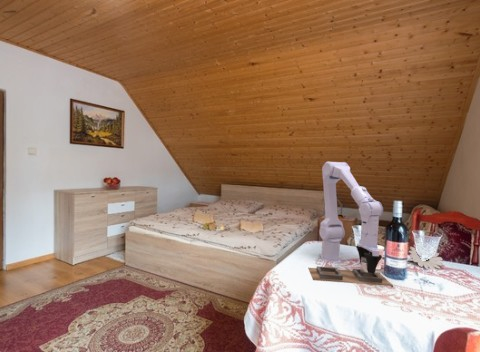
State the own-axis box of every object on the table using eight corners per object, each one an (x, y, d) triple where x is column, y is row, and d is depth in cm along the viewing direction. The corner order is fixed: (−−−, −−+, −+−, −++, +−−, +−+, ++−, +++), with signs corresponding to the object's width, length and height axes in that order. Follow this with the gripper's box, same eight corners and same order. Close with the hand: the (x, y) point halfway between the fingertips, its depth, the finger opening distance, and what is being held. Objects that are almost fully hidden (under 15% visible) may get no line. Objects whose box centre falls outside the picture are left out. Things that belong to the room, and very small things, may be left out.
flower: (365, 242, 133) (437, 242, 124) (365, 250, 135) (435, 250, 127) (370, 265, 122) (449, 267, 114) (369, 273, 125) (446, 275, 116)
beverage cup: (372, 263, 121) (374, 232, 120) (385, 268, 116) (388, 235, 115) (363, 266, 117) (365, 233, 117) (377, 271, 112) (379, 237, 112)
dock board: (307, 268, 112) (308, 264, 112) (379, 273, 110) (379, 268, 110) (313, 281, 100) (313, 276, 100) (393, 287, 98) (393, 281, 98)
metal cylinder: (358, 274, 106) (359, 255, 106) (369, 275, 106) (370, 256, 106) (362, 279, 102) (363, 259, 102) (373, 279, 102) (374, 260, 102)
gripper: (352, 228, 111) (350, 261, 112) (365, 237, 97) (363, 275, 97) (370, 229, 110) (368, 262, 111) (386, 239, 96) (383, 277, 97)
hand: (367, 268), depth 104 cm, fingers open, 7 cm apart
